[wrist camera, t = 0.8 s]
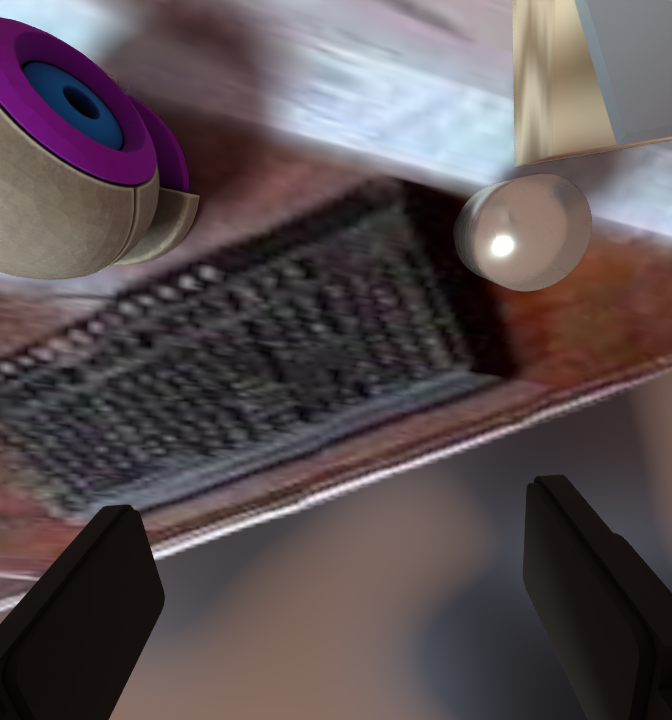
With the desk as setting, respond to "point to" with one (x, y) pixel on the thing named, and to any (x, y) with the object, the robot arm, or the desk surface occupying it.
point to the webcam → (81, 165)
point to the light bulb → (524, 231)
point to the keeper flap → (632, 64)
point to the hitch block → (557, 87)
